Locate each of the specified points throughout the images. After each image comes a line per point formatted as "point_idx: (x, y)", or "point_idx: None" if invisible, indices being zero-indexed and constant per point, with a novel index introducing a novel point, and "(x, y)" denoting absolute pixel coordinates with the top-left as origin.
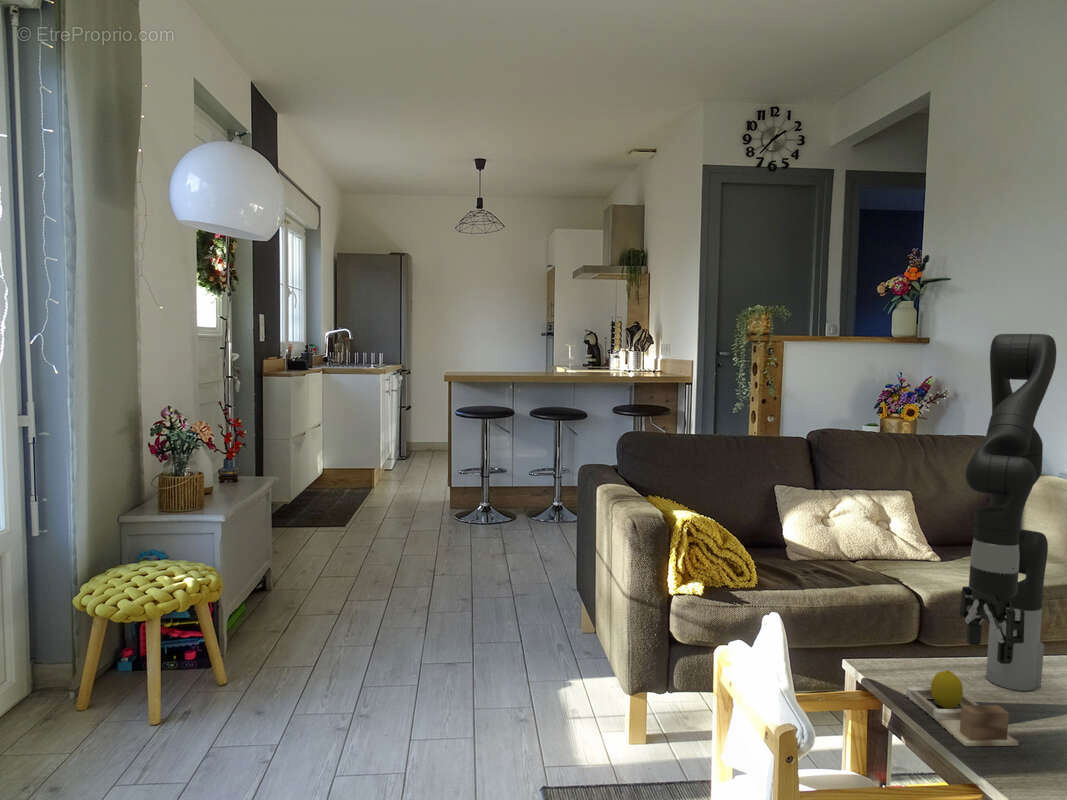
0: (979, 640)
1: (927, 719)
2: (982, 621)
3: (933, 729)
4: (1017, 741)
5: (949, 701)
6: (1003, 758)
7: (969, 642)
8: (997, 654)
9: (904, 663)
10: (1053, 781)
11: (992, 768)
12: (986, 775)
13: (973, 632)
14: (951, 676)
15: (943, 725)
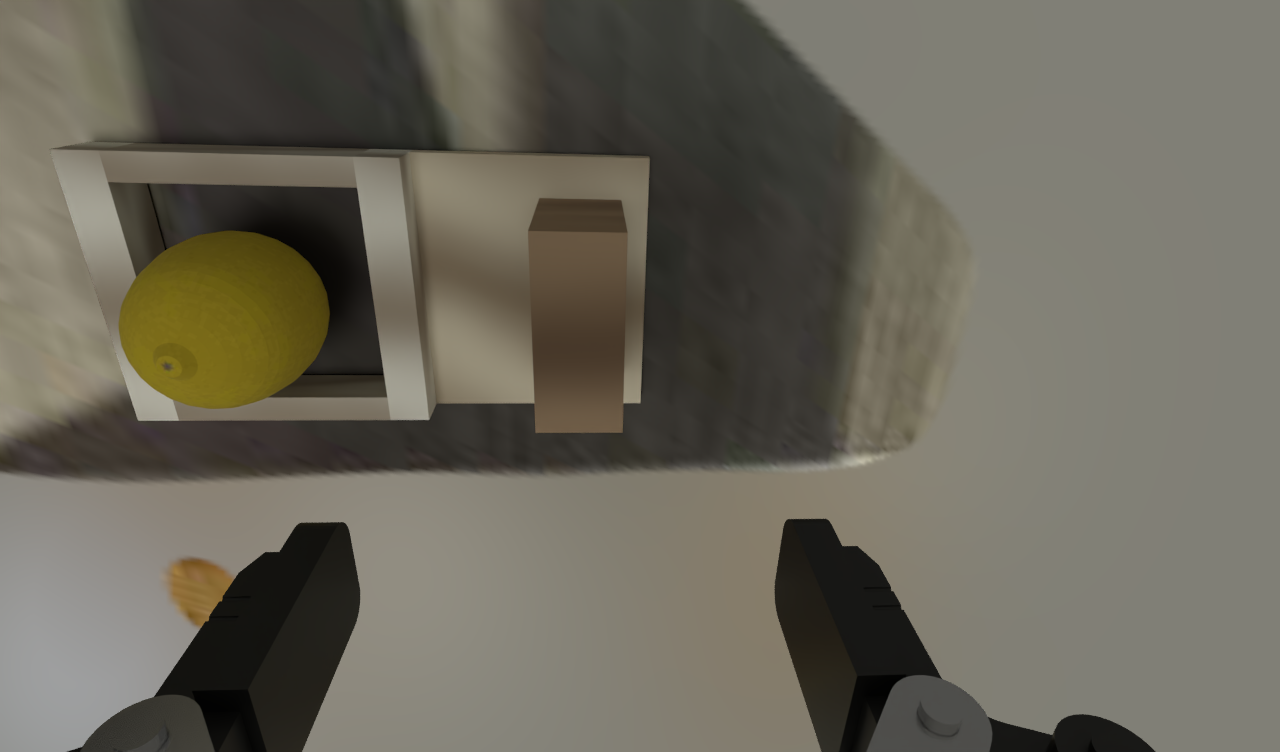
0: (329, 555)
1: None
2: (209, 742)
3: (493, 436)
4: (641, 158)
5: (327, 331)
6: (738, 299)
7: (353, 625)
8: (791, 657)
9: None
10: (927, 214)
11: (798, 388)
12: (835, 436)
13: (307, 689)
14: (224, 358)
15: (483, 402)
